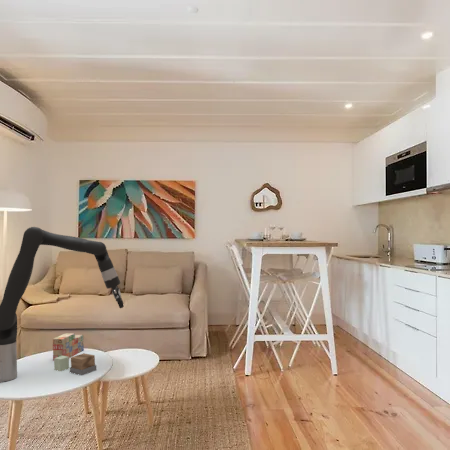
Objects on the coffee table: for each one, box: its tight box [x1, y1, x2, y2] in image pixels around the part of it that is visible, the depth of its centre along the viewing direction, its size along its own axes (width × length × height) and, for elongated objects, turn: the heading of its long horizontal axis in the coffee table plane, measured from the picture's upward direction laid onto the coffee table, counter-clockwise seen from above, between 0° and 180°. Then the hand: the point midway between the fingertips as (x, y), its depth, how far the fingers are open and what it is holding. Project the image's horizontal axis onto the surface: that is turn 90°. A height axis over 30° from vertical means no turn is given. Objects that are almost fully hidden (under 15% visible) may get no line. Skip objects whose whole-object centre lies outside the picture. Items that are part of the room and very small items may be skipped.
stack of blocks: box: [52, 332, 85, 361], centre depth 237 cm, size 21×6×12 cm, turn 169°
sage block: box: [53, 356, 70, 372], centre depth 212 cm, size 5×5×6 cm
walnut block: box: [70, 352, 96, 370], centre depth 208 cm, size 8×8×5 cm
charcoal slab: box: [69, 364, 97, 376], centre depth 208 cm, size 9×9×3 cm
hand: (121, 306), depth 218 cm, fingers open, 8 cm apart
